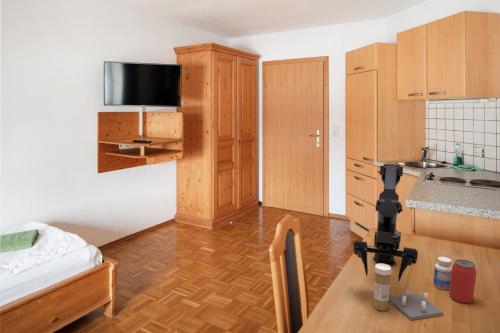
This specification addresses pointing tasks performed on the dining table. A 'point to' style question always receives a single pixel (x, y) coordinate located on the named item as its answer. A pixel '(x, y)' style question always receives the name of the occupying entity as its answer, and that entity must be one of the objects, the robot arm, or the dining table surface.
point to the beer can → (462, 281)
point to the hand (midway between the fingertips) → (382, 278)
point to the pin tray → (415, 305)
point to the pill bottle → (443, 273)
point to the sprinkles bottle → (381, 286)
